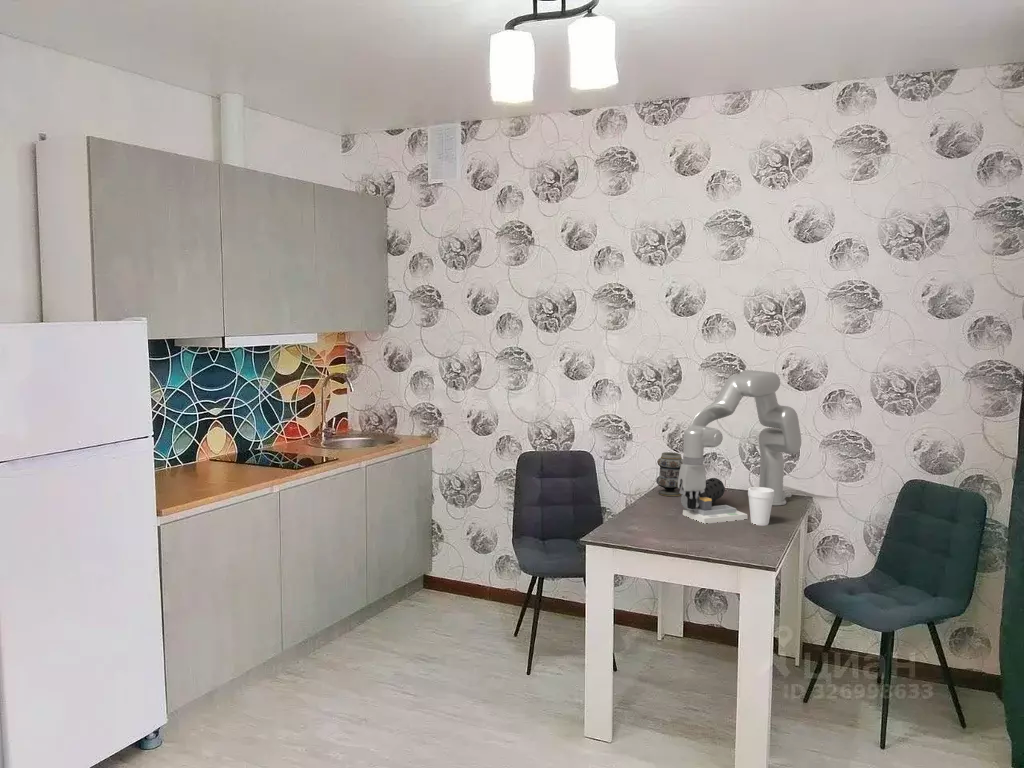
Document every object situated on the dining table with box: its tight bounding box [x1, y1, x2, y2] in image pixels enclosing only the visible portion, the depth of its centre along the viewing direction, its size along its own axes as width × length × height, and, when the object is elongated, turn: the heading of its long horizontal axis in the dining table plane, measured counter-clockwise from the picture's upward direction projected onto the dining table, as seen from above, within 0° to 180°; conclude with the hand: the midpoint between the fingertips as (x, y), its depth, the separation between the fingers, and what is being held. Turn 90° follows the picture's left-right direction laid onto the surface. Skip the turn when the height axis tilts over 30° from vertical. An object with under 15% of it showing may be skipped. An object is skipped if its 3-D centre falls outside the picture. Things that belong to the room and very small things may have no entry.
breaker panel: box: [682, 504, 749, 525], centre depth 312 cm, size 20×14×4 cm
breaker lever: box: [700, 497, 713, 511], centre depth 310 cm, size 3×3×6 cm
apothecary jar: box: [655, 451, 683, 497], centre depth 351 cm, size 12×12×18 cm
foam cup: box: [747, 486, 774, 526], centre depth 303 cm, size 10×9×13 cm
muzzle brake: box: [680, 477, 726, 511], centre depth 325 cm, size 10×28×10 cm, turn 147°
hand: (691, 508), depth 307 cm, fingers closed
